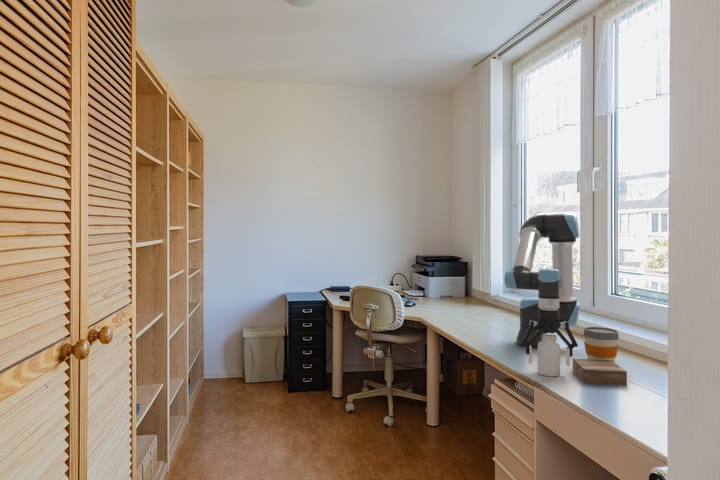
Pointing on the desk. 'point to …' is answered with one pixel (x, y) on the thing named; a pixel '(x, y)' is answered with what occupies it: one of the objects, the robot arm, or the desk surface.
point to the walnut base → (599, 372)
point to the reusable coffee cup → (601, 343)
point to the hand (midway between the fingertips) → (548, 363)
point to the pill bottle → (548, 356)
